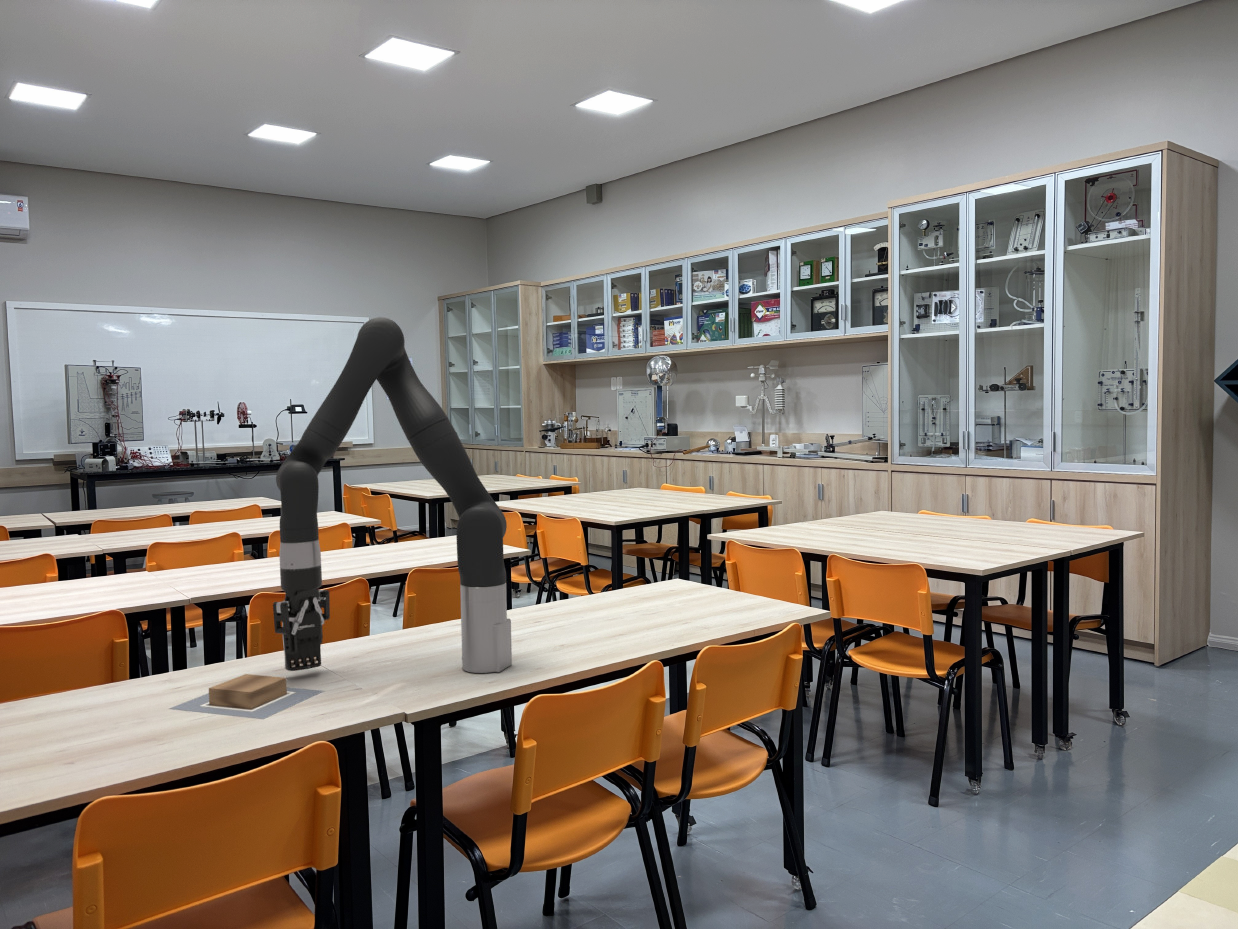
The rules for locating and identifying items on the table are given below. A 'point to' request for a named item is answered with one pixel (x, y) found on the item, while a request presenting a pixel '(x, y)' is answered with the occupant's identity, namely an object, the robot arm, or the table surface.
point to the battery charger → (306, 643)
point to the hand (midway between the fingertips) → (304, 648)
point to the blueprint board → (259, 712)
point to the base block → (247, 691)
